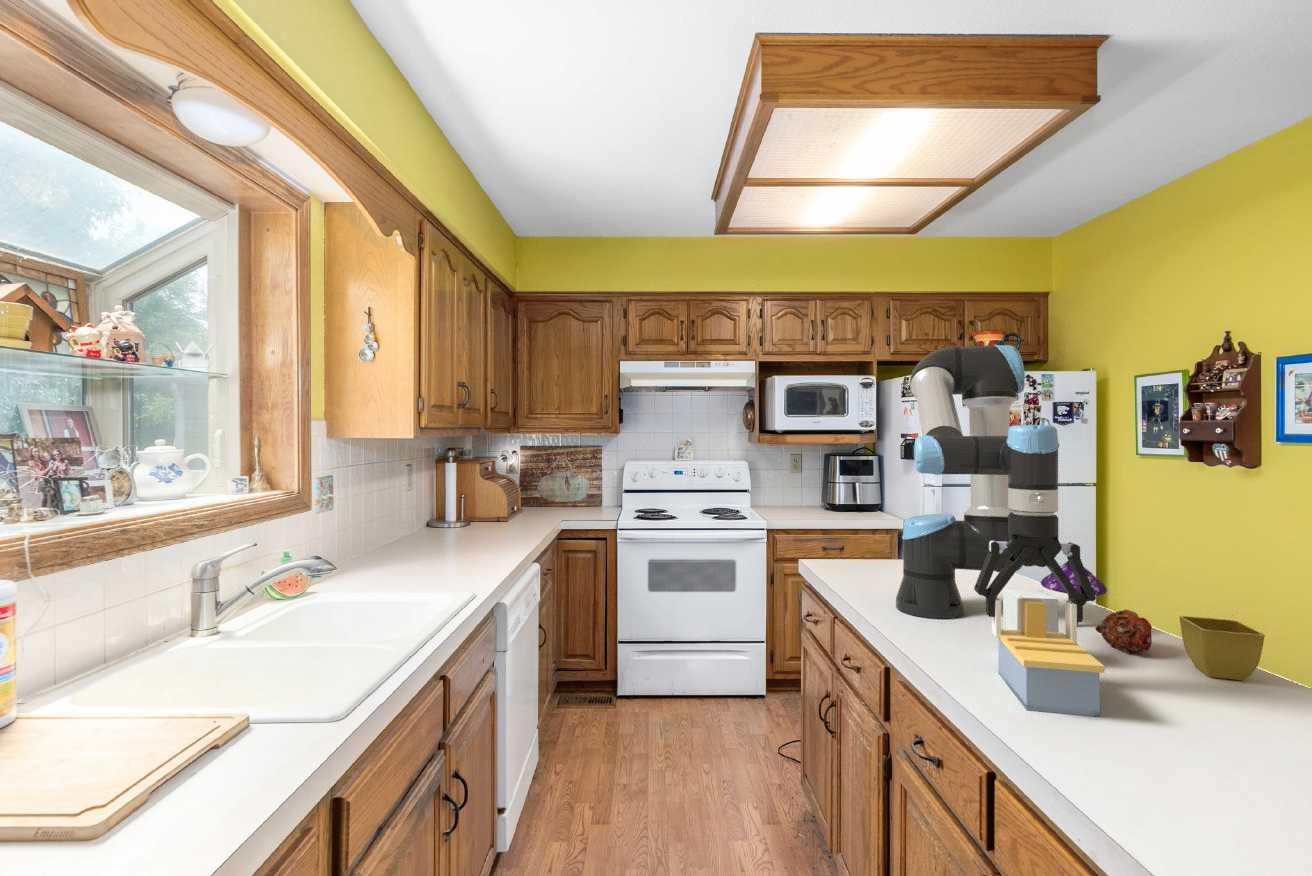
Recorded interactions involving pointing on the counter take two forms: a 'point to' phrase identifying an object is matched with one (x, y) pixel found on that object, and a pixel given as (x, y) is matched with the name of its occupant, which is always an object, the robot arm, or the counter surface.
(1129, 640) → the dragon fruit
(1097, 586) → the decorative mushroom
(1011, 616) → the supplement box
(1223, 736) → the counter surface
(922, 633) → the counter surface
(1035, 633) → the lid
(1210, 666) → the flower pot
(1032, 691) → the tub
